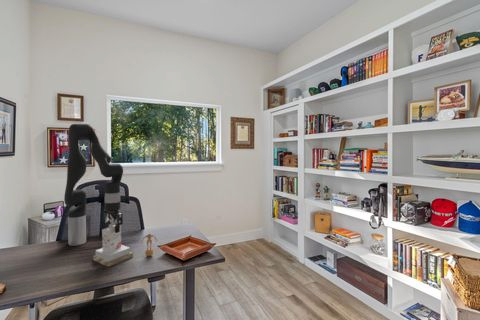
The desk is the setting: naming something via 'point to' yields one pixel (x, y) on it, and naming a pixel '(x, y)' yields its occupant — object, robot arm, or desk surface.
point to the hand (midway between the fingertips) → (112, 230)
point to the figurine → (150, 251)
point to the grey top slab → (113, 253)
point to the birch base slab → (112, 262)
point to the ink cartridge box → (111, 238)
